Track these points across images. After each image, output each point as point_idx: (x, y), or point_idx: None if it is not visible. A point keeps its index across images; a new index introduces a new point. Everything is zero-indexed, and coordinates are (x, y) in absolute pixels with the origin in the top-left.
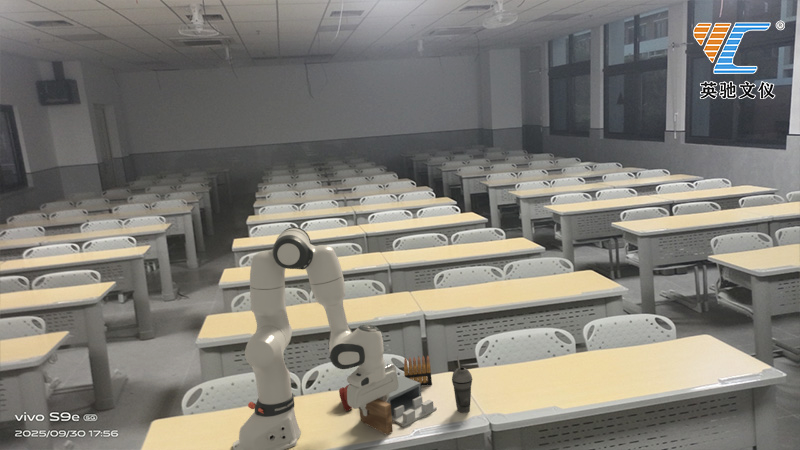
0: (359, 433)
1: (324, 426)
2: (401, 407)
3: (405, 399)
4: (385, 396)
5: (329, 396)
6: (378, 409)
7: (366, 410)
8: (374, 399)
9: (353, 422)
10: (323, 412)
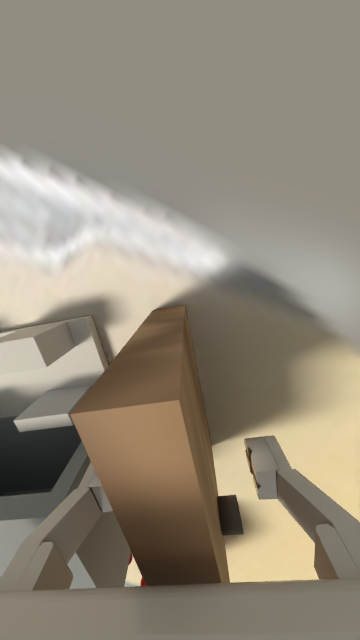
0: (267, 382)
1: (325, 485)
2: (32, 416)
3: (5, 465)
4: (58, 554)
5: None
6: (199, 436)
7: (288, 477)
8: (223, 608)
9: (235, 453)
10: (270, 541)
